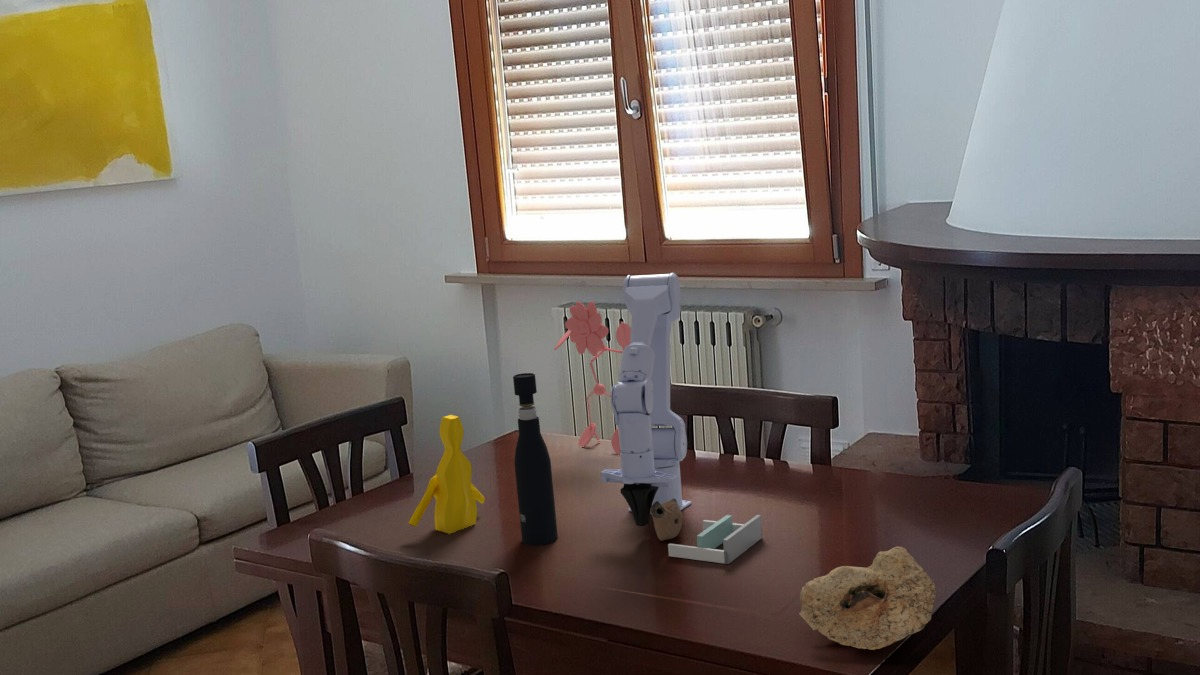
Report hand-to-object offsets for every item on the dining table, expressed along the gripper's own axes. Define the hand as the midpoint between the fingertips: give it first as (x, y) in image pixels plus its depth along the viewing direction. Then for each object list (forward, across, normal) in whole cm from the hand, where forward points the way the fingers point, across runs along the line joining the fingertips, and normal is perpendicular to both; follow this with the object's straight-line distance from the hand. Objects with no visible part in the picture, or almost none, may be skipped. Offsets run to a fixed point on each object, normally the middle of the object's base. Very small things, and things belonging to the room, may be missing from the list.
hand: (642, 524), depth 203 cm
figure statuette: (+3, -36, -8) cm, 37 cm away
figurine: (+3, -38, +43) cm, 58 cm away
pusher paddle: (+2, +14, 0) cm, 14 cm away
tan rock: (+4, +49, -20) cm, 53 cm away
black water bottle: (+3, -17, -7) cm, 19 cm away
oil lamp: (+3, +5, 0) cm, 5 cm away
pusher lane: (+2, +14, 0) cm, 14 cm away
